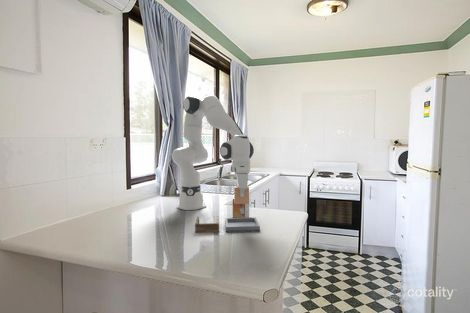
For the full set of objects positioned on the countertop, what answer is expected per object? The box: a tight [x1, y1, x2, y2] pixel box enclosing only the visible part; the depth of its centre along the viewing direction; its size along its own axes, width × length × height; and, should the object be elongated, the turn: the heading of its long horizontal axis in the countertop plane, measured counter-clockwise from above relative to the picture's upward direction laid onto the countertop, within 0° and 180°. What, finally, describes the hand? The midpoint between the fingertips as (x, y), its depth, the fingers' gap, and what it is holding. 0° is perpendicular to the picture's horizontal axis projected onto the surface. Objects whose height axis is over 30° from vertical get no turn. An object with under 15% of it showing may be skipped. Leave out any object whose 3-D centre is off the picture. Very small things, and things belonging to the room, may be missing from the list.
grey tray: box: [224, 216, 261, 233], centre depth 144 cm, size 15×16×2 cm
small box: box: [232, 198, 250, 218], centre depth 162 cm, size 8×6×10 cm
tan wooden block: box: [233, 185, 250, 205], centre depth 143 cm, size 5×7×8 cm
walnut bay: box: [194, 215, 220, 234], centre depth 143 cm, size 14×11×4 cm
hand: (241, 195), depth 143 cm, fingers closed on tan wooden block, 5 cm apart
